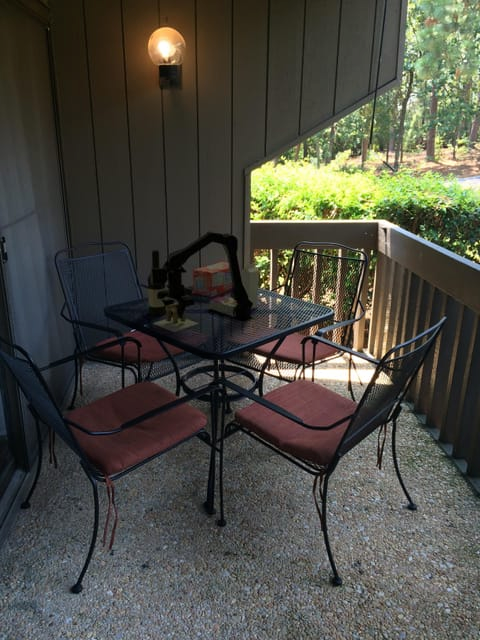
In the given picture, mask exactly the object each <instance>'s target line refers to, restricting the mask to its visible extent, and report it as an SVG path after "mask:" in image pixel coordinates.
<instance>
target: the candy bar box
mask: <svg viewBox="0 0 480 640" xmlns="http://www.w3.org/2000/svg"><path fill="white" fill-rule="evenodd" d="M236 307H237V303H236V301H235V300H234V299H233V298H232V297H231V296H227V295H224V296H221V297H216V298H212V299H210V300H209V309H210V310H212V311H216V312H218V313H221V314H224V315H227V316H231V317H233V318H234V317H235V316H236Z"/></svg>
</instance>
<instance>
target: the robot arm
mask: <svg viewBox="0 0 480 640" xmlns="http://www.w3.org/2000/svg"><path fill="white" fill-rule="evenodd" d="M211 243H214V244H215V243H216V244H220V245H222V248H223V250H224V253H225V254H226V257H227V263H229V268H230V273H231V278H232V283H233V285H232V288H229V290H230V291H229V292H230V296H229V297H231V298H233V299H234V300H235V301H236V303H237V307H236V316H234V317H233V319H236V320H239V321H242V322H246V321H248V320H251V318H252V319H253V318H254V317H253V316H252V309H251V308H252V305H253V303H252V302H251V301H250V300H249V299H248V295H247V292H246V290H245V288H244V286H243V284H242V279H241V270H240V264H239V263H240V262H239V260H238V258H239V257H238V254H237V253H238V249H239V241H238V237H236V236H235V235H233V234H231V233H229V232H225V233H219V232H213V231H209V230H208V231H207V232H206V233H205V234H203V235H202V236H200V237H199V238H197V239H196V240H194V241H193V242H191V243H189V244H188V245H187V246H185V247H183V248H181V249H178V250H175V251H172V252H170V253H168V255H167V257H166V260H165V263H164V264H163V265H162V267H159V268H152V267H151V269H150V273H151V275H150V274H149V275H150V279H151V284H165V285H166V288H167V289H168V290H167V289H165V290H164V291H160V292H158V294H157V298H158V299H163V300H161V301H162V302H163V303H164V305H165V306H167V305H171V304H175V303H174V302H175V301H176V302H177V303H178V305H176V308H177V312H178V316H179V319H181V318H182V316H183V313H184V310H185V311H186V309H187V308H188V307H190V306H194V305H195V304H196V303H195V301H196V299H194V298H193V297H192V294H193V288H189V287H185V284H183V273H187V270H186V269H185V268H184V267H183V265H184V264H185V263H187V261H188V259H190V257H192V256H194V255H195V254H196V253H198V252H199V251H201V250H202V249H204V248H205V247H207V246H209V245H210V244H211ZM167 282H168V284H166V283H167ZM171 317H173V312H171Z"/></svg>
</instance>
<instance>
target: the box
mask: <svg viewBox="0 0 480 640" xmlns="http://www.w3.org/2000/svg"><path fill="white" fill-rule="evenodd" d="M192 270H193V271H192V272H193V274H192V275H193V277H192V279H193V280H192V281H193V283H192V285H193V286H192V287H193V288H192V290H193V291H192V294H195V295H200V296H204V297H208V298H214V297H216V296H219V295H221V294H224V293H227V292H230V290H229V288H232V285H233V283H232V278H231V273H230V268H229V263H228V262H226V261H225V262H224V261H220V262H218V263H214V264H210V265H205V266H203V267H202V266H201V267H199V268H195V269H192Z"/></svg>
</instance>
